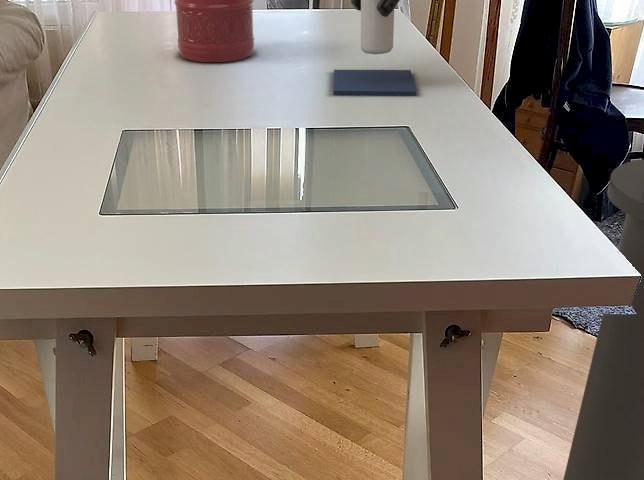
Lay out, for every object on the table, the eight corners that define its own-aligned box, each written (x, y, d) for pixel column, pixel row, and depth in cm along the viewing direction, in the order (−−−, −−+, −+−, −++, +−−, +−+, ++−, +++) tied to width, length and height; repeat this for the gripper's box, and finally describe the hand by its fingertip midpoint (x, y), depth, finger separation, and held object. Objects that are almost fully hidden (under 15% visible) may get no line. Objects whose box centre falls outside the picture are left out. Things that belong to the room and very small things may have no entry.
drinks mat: (410, 73, 132) (410, 69, 132) (416, 95, 122) (416, 91, 122) (333, 73, 132) (333, 69, 132) (333, 94, 123) (333, 90, 122)
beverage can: (375, 45, 127) (376, -43, 121) (400, 49, 124) (402, -40, 118) (354, 52, 125) (353, -38, 118) (378, 56, 122) (380, -36, 115)
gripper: (388, -116, 121) (322, -15, 122) (461, -110, 112) (389, -1, 113) (412, -78, 127) (348, 19, 128) (484, -69, 117) (415, 35, 118)
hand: (368, 9), depth 120 cm, fingers closed on beverage can, 5 cm apart
